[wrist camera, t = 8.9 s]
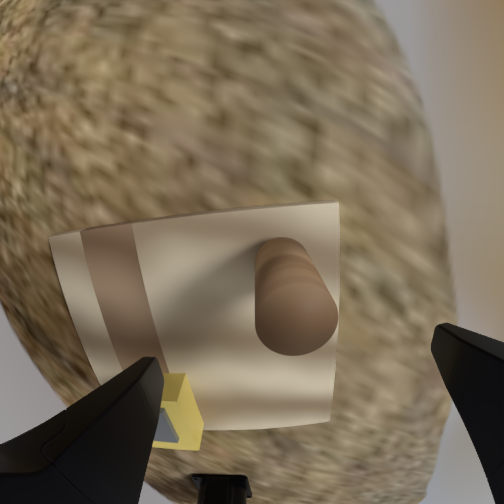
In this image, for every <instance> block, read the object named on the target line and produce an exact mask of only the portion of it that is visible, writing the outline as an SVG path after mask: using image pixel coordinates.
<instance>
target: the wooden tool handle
mask: <svg viewBox="0 0 504 504" xmlns="http://www.w3.org/2000/svg"><path fill="white" fill-rule="evenodd" d="M338 318H339V316H338V308H337V305H336V303H335V301H334V299H333V298H332V296H331V294H330V292H329V290H328V288H327V287H326V285H325V283H324V281H323V279H322V278H321V276H320V274H319V272H318V270H317V269H316V267H315V265H314V263H313V262H312V260H311V258H310V256H309V255H308V253H307V251H306V249H305V248H304V247H303V245H302V244H300V243H299V242H298V241H296V240H294V239H291V238H287V237H277V238H273V239H271V240H269V241H268V242H266V243H265V244H264V245H263V246H262V247H261V248H260V249H259V251H258V252H257V255H256V258H255V329H256V333H257V336H258V338H259V339H260V341H261V342H262V343H263V344H264V345H265V346H266V347H267V348H268V349H270V350H271V351H273V352H275V353H278V354H281V355H286V356H299V355H305V354H308V353H311V352H313V351H315V350H317V349H319V348H320V347H322V346H323V345H324V344H326V343H327V342H328V341H329V339H330V338H331V337H332V336H333V334H334V332H335V330H336V328H337V324H338Z"/></svg>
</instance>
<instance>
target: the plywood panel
mask: <svg viewBox="0 0 504 504" xmlns="http://www.w3.org/2000/svg"><path fill="white" fill-rule="evenodd" d="M277 237H287V238H291V239H294V240H296V241H298V242H299V243H300V244H302V245H303V247H304V248H305V249H306V251H307V253H308V255H309V256H310V258H311V260H312V262H313V263H314V265H315V267H316V269H317V270H318V272H319V274H320V276H321V278H322V279H323V281H324V283H325V285H326V287H327V288H328V290H329V292H330V294H331V296H332V298H333V299H334V301H335V303H336V305H337V308H338V316H339V291H340V229H339V203H338V202H336V201H334V200H331V201H316V202H302V203H289V204H277V205H266V206H255V207H244V208H234V209H225V210H216V211H207V212H198V213H189V214H181V215H173V216H166V217H158V218H151V219H143V220H136V221H129V222H123V223H116V224H109V225H103V226H97V227H91V228H85V229H79V230H73V231H67V232H61V233H56V234H54V235H52V236H49V237H48V238H49V242H50V246H51V251H52V255H53V259H54V263H55V266H56V270H57V274H58V277H59V281H60V284H61V287H62V290H63V294H64V297H65V300H66V303H67V306H68V309H69V312H70V314H71V317H72V320H73V323H74V325H75V328H76V331H77V333H78V336H79V338H80V341H81V343H82V346H83V348H84V350H85V353H86V355H87V357H88V359H89V362H90V364H91V366H92V368H93V370H94V373H95V375H96V377H97V379H98V381H99V383H100V385H103V384H104V383H106V382H107V381H108V380H110V379H111V378H113V377H114V376H116V375H117V374H119V373H120V372H122V371H123V370H125V369H126V368H128V367H129V366H131V365H132V364H133V363H135V362H136V361H138V360H139V359H141V358H142V357H144V356H152V357H156V358H157V359H158V361H159V364H160V367H161V370H162V373H186V375H187V378H188V381H189V384H190V387H191V390H192V392H193V395H194V398H195V401H196V404H197V406H198V409H199V412H200V414H201V417H202V419H203V422H204V427H203V430H247V429H266V428H278V427H289V426H298V425H306V424H314V423H320V422H327V421H330V414H331V406H332V397H333V388H334V378H335V366H336V354H337V339H338V324H337V328H336V330H335V332H334V334H333V336H332V337H331V338H330V339H329V341H328V342H327V343H326V344H324V345H323V346H322V347H320V348H319V349H317V350H315V351H313V352H311V353H308V354H305V355H299V356H286V355H281V354H278V353H275V352H273V351H271V350H270V349H268V348H267V347H266V346H265V345H264V344H263V343H262V342H261V341H260V339H259V338H258V336H257V333H256V329H255V258H256V255H257V252H258V251H259V249H260V248H261V247H262V246H263V245H264V244H265V243H266V242H268V241H269V240H271V239H273V238H277ZM338 320H339V318H338Z"/></svg>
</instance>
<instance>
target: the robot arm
mask: <svg viewBox="0 0 504 504" xmlns="http://www.w3.org/2000/svg"><path fill="white" fill-rule="evenodd" d="M431 352H432V355H433V357H434V359H435V362H436V364H437V366H438V369H439V371H440V374H441V376H442V379H443V381H444V384H445V386H446V388H447V390H448V392H449V394H450V396H451V398H452V400H453V402H454V404H455V406H456V408H457V410H458V412H459V414H460V416H461V418H462V420H463V422H464V425H465V427H466V429H467V431H468V433H469V435H470V438H471V440H472V442H473V445H474V447H475V449H476V452H477V454H478V457H479V459H480V462H481V464H482V467H483V469H484V472H485V474H486V477H487V480H488V483H489V486H490V489H491V491H492V495H493V498H494V501H495V504H504V342H501V341H498V340H495V339H492V338H489V337H487V336H484V335H481V334H478V333H475V332H472V331H470V330H467V329H464V328H461V327H458V326H455V325H452V324H450V323H443V324H439V325H437V326H436V327H435V330H434V335H433V339H432V343H431ZM163 388H164V376H163V373H162V370H161V367H160V364H159V361H158V359H157V358H156V357H152V356H144V357H142V358H141V359H139V360H138V361H136V362H135V363H133V364H132V365H131V366H129V367H128V368H126V369H125V370H123V371H122V372H120V373H119V374H117V375H116V376H114V377H113V378H111V379H110V380H108V381H107V382H106V383H104V384H103V385H101V386H100V387H98V388H97V389H95V390H94V391H92V392H91V393H89V394H88V395H86V396H85V397H83V398H82V399H80V400H78V401H77V402H75V403H74V404H72V405H71V406H69V407H68V408H67V409H66V410H63V411H62V412H60V413H59V414H57V415H55V416H54V417H52V418H51V419H49V420H47V421H46V422H44V423H42V424H40V425H38V426H37V427H35V428H33V429H31V430H29V431H27V432H25V433H23V434H21V435H19V436H17V437H15V438H13V439H11V440H9V441H7V442H5V443H2V444H0V504H138V502H139V498H140V493H141V489H142V485H143V481H144V476H145V472H146V468H147V464H148V460H149V456H150V452H151V449H152V445H153V441H154V437H155V433H156V430H157V426H158V421H159V415H160V408H161V401H162V394H163ZM192 480H193V482H194V483H195V485H196V487H197V488H198V490H199V494H198V502H197V504H246V498H251V497H252V492H251V488H250V485H249V481H248V478H247V477H246V476H211V475H192Z"/></svg>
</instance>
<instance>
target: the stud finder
mask: <svg viewBox="0 0 504 504" xmlns="http://www.w3.org/2000/svg"><path fill="white" fill-rule="evenodd" d="M163 376H164V388H163V394H162V401H161V408H160V415H159V421H158V426H157V430H156V433H155V437H154V441H153V445H152V447H158V448H168V449H181V450H198V451H199V448H200V443H201V437H202V432H203V427H204V422H203V419H202V417H201V414H200V412H199V409H198V406H197V404H196V401H195V398H194V395H193V392H192V390H191V387H190V384H189V381H188V378H187V375H186V373H163Z"/></svg>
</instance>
